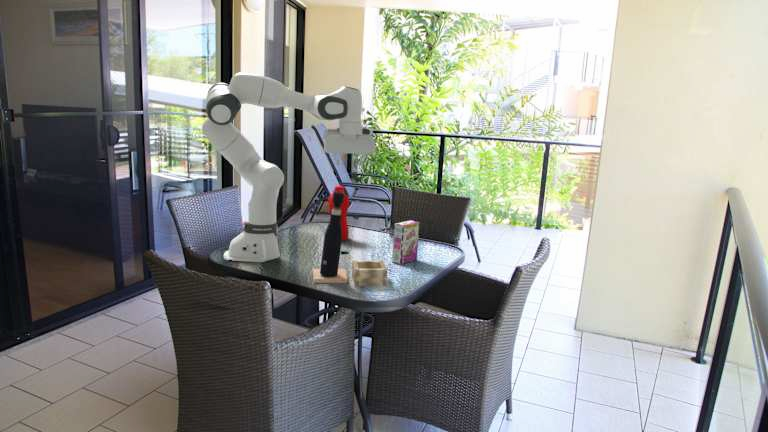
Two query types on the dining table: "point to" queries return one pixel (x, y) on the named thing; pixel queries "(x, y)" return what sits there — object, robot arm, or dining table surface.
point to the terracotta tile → (339, 278)
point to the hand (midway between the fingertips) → (349, 164)
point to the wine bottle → (332, 240)
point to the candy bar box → (405, 242)
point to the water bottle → (343, 210)
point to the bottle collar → (369, 273)
